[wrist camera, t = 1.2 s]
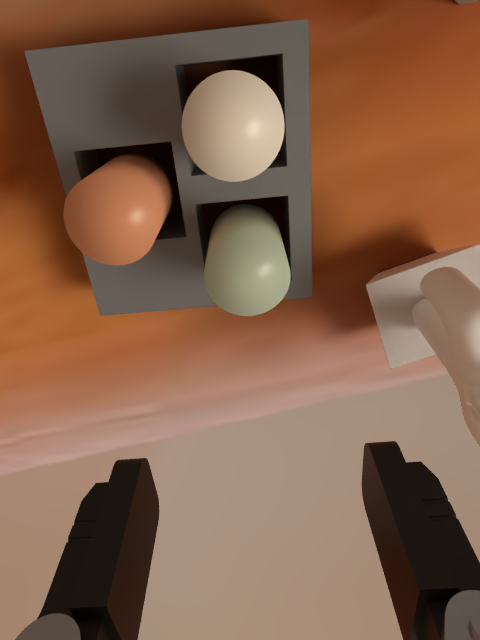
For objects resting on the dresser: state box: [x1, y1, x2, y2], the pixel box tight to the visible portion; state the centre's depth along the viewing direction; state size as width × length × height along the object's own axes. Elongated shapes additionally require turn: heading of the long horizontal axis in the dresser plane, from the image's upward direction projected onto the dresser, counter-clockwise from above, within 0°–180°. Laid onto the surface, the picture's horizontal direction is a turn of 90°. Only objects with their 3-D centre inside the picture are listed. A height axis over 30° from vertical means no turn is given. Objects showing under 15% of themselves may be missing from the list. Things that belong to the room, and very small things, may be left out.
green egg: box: [204, 204, 291, 316], centre depth 25 cm, size 4×4×6 cm
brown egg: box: [63, 153, 173, 266], centre depth 23 cm, size 4×4×6 cm
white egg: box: [182, 70, 284, 182], centre depth 21 cm, size 4×4×6 cm
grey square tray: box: [24, 19, 313, 316], centre depth 27 cm, size 14×15×4 cm
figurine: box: [366, 244, 480, 446], centre depth 26 cm, size 7×9×15 cm
